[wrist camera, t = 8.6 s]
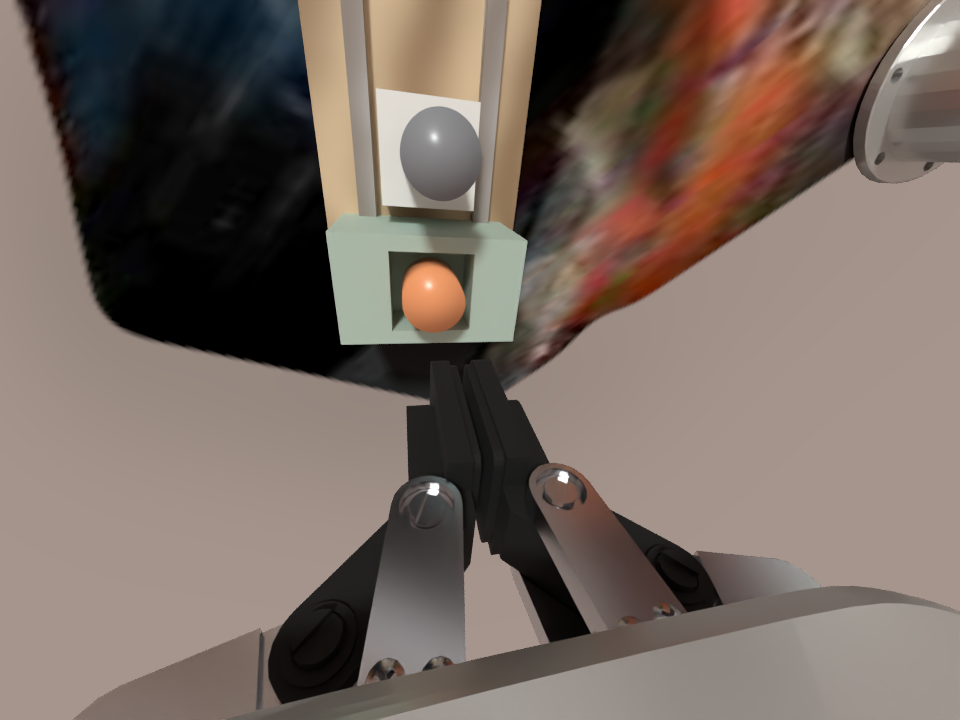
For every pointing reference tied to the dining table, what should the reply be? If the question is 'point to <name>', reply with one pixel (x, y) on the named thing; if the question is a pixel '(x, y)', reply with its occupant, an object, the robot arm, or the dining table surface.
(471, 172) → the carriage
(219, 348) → the dining table surface
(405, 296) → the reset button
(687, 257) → the dining table surface
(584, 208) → the dining table surface
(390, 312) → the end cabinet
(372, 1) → the track
